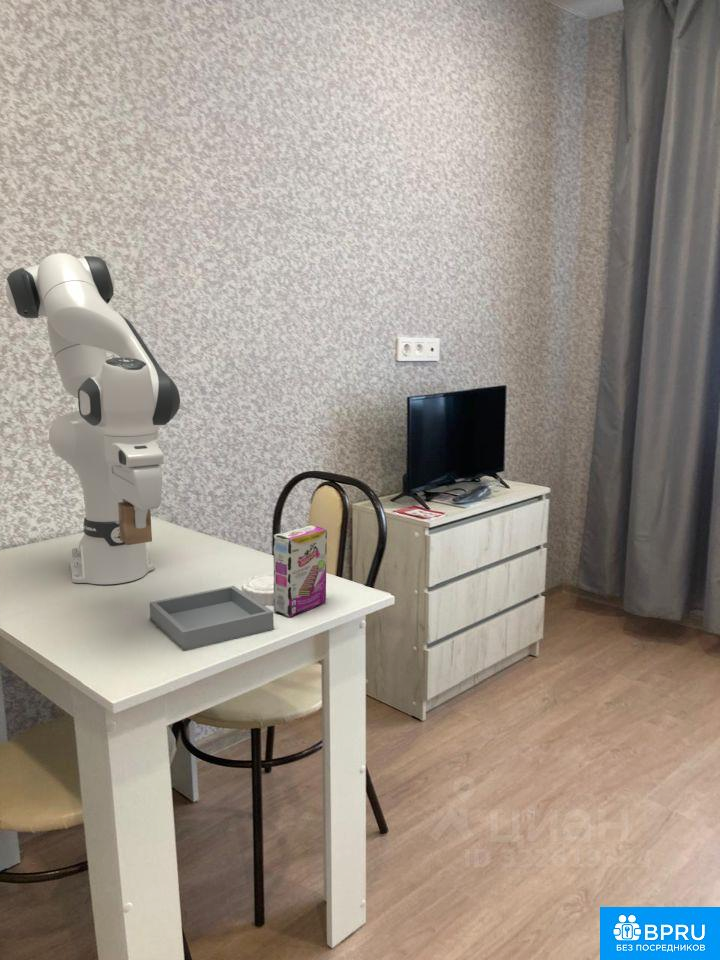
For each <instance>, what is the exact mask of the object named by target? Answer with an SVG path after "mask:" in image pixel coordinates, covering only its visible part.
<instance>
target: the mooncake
mask: <svg viewBox="0 0 720 960" xmlns="http://www.w3.org/2000/svg"><path fill="white" fill-rule="evenodd" d="M241 591H242V592H244V593H245V594H247V595H248V596H250V597H251V598H253V599H254V600H256V601H257V602H259V603H261V604H262V605H264V606H265V607H267V606H269V607H270V606H271V607H272V606H273V607H274V573H272V574H258V575H256V576H252V577H250V578H247V579H246V580H244V581H243V582H242V584H241Z"/></svg>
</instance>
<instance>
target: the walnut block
mask: <svg viewBox="0 0 720 960" xmlns="http://www.w3.org/2000/svg"><path fill="white" fill-rule="evenodd" d="M118 511H119V527H120V540H122V541H123V542H124V543H125V544H127V545H132V544H139V543H145V542H146V543H151V542H153V537H152V536H153V535H152V517H151V516H152V515H151V514H152V513H151V509H148V512H147V516H146V527H145V528H140V529H138V528H136V527H135V526H134V518H135V510H134V505H132V504H131V503H129V502H119V503H118Z"/></svg>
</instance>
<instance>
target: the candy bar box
mask: <svg viewBox="0 0 720 960" xmlns="http://www.w3.org/2000/svg"><path fill="white" fill-rule="evenodd" d="M327 536H328V532H327V528H325V527H320V526H315V525H306V526H303V527H300V528H295V529H292V530H288V531H284V532H281V533H276V534H273V574H274V605H273V613H276V614H279V615H281V616H285V617H288V618H291V617H293V616H296V615H299V614H302V613H304V612H306V611H309V610H311V609H314V608H316V607H319V606H321V605H324V604H326V602H327V601H326V600H327V597H326V596H327V545H328V543H327V542H328V540H327V539H328V538H327Z"/></svg>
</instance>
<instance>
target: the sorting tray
mask: <svg viewBox="0 0 720 960" xmlns="http://www.w3.org/2000/svg"><path fill="white" fill-rule="evenodd" d="M149 620H150V621H152V622H153V623H154V624H155V625H156V626H157V627H158V628H159V629H160V630H161V631H162V632H163V633H164V634H165V635H166V636H167V637H168V638H170V639H171V641H173V642H174V643H175V645H176V646H178V647H179V648H180V649H181V650H182V651H183V652H185V651H189V650H192V649H193V650H194V649H197V648H202V647H207V646H209V645H214V644H217V643H222V642H227V641H231V640H235V639H239V638H243V637H244V638H245V637H247V636H252V635H256V634H259V633H264V632H268V631H272V630H274V629H275V628H274V627H275V626H274V610H271V609H270V608H268V607H267V606H264V605H262V604H261V603H259V602H257V601H256V600H254V599H253V598H251V597H250V596H248V595H247V594H245V593H244V592H242V589H239V588H238V587H236V586H235V585H230V586H225V587H220V588H216V589H210V590H209V589H208V590H205V591H200V592H195V593H190V594H185V595H180V596H175V597H170V598H164V599H160V600H155V601H150V602H149Z"/></svg>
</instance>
